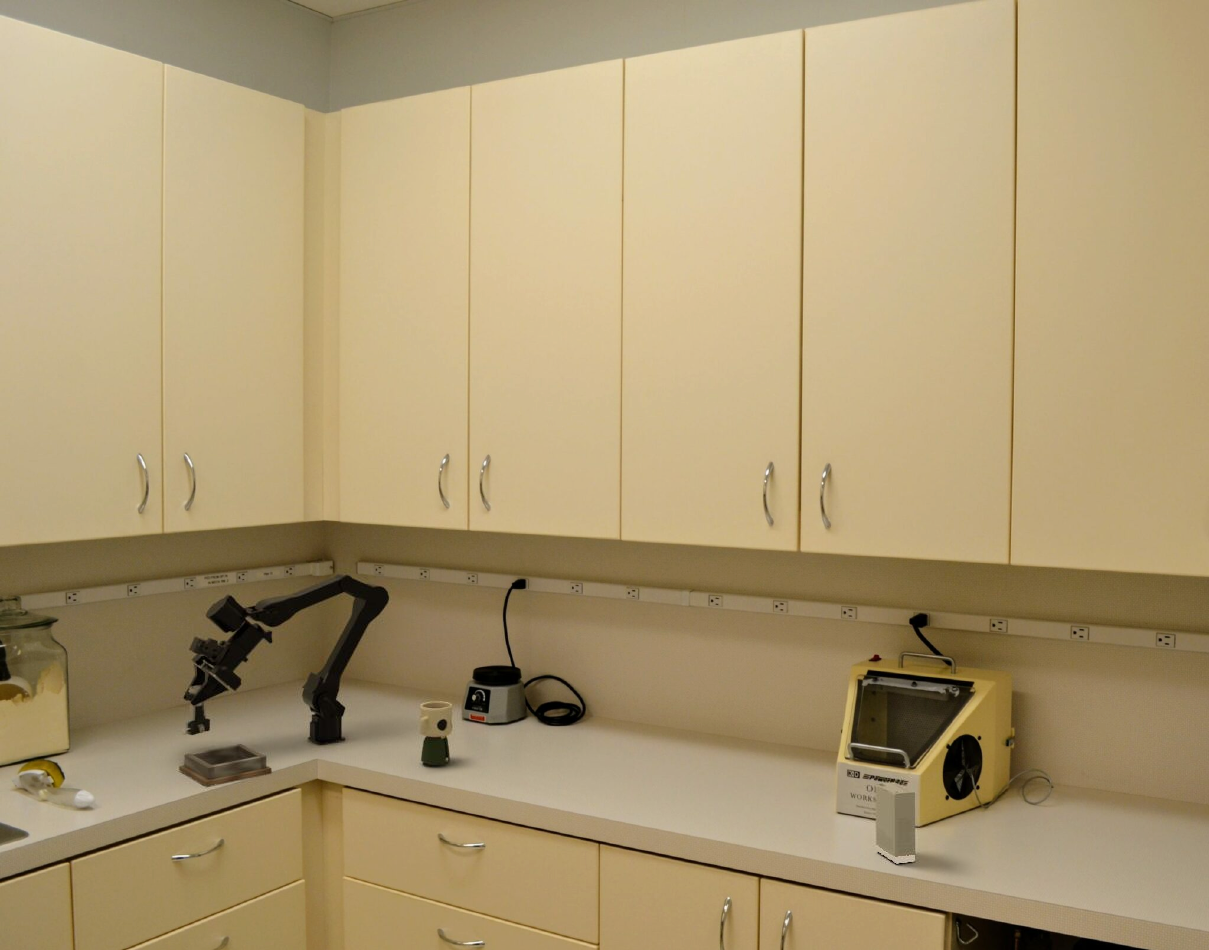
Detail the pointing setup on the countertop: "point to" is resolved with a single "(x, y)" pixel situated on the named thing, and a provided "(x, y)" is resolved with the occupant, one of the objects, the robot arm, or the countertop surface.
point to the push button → (196, 714)
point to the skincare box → (895, 819)
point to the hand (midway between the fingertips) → (188, 702)
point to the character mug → (435, 731)
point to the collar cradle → (224, 765)
